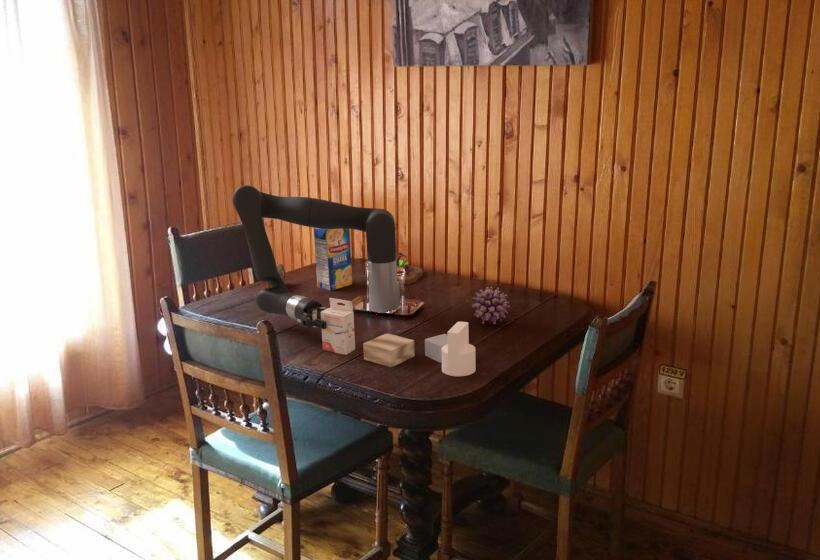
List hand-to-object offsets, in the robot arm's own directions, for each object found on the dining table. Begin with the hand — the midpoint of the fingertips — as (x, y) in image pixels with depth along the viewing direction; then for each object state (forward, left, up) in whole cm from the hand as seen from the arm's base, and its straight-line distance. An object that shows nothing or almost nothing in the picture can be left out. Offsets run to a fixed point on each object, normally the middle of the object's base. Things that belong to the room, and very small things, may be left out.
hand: (337, 322), depth 231 cm
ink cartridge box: (0, 0, -9) cm, 9 cm away
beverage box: (-39, -52, -9) cm, 66 cm away
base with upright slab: (-13, +35, -9) cm, 38 cm away
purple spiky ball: (-46, +17, -9) cm, 50 cm away
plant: (-61, -45, -9) cm, 76 cm away
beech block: (-6, +15, -9) cm, 18 cm away
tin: (-22, -65, -9) cm, 69 cm away
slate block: (-17, +25, -9) cm, 31 cm away
